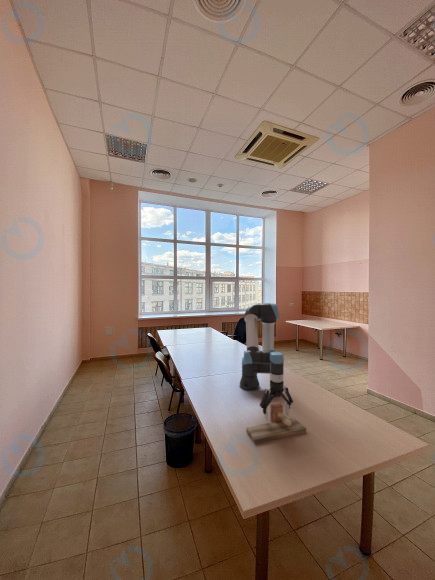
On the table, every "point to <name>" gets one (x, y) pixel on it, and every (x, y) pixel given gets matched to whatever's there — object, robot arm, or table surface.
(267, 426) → the board
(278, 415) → the mallet
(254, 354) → the robot arm
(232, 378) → the table surface
